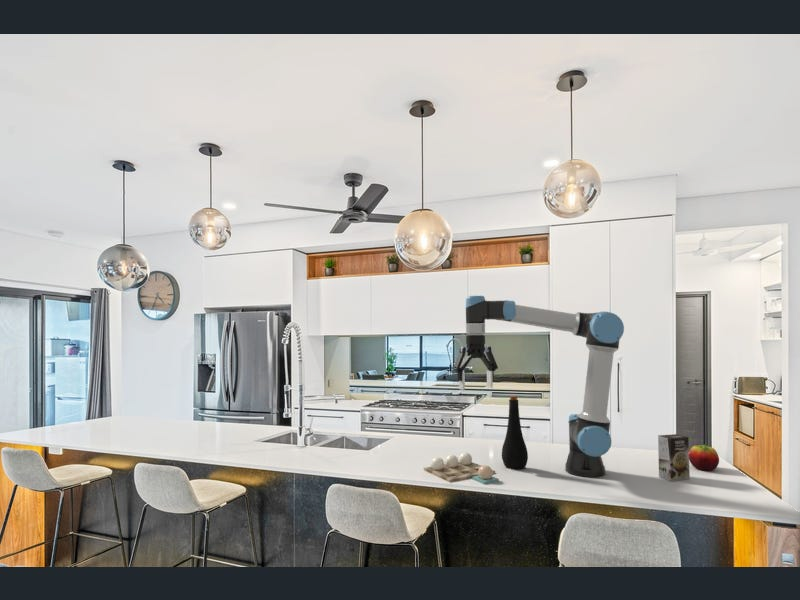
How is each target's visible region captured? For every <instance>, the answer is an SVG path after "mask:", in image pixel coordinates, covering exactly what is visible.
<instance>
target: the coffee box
mask: <svg viewBox="0 0 800 600" xmlns="http://www.w3.org/2000/svg"><path fill="white" fill-rule="evenodd" d="M657 441H658V442H657V443H658V445H657V446H658V447H657V448H658V456H657V457H658V477H660V478H663V479H664V480H668V481H670V482H676V481H677V482H678V481H683V480H684V481H685V480H690V479H691V478H690V476H691V475H690V461H689V452H690V448H689V446H690V445H689V441H690V440H689V437H688V436H685V435H680V434H673V433H672V434H660V435H657Z"/></svg>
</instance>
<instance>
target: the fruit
mask: <svg viewBox="0 0 800 600" xmlns="http://www.w3.org/2000/svg"><path fill="white" fill-rule="evenodd" d="M719 463H720V456H719V455H718V452H717V450H716V449H715V448H714V447H711V446H707V445H706V444H702V445H693V446H692V447H691V448H689V464H691V465H692V467H693V468H695V469H697V470H699V471H705V472H711V471H714V470H715V469H716V468H717V467H718V466H719Z"/></svg>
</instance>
